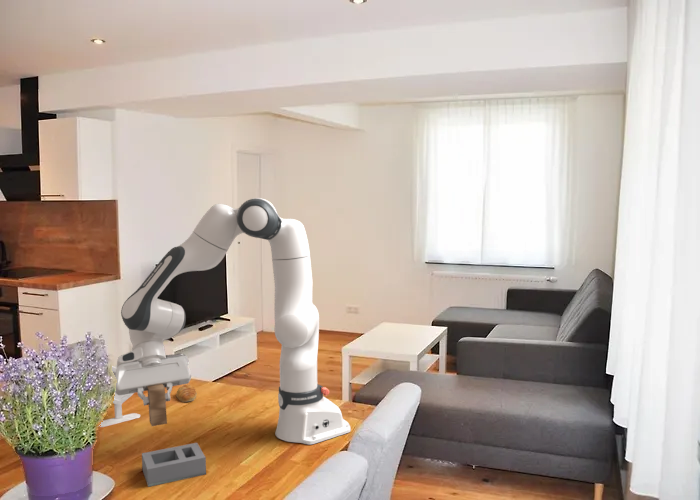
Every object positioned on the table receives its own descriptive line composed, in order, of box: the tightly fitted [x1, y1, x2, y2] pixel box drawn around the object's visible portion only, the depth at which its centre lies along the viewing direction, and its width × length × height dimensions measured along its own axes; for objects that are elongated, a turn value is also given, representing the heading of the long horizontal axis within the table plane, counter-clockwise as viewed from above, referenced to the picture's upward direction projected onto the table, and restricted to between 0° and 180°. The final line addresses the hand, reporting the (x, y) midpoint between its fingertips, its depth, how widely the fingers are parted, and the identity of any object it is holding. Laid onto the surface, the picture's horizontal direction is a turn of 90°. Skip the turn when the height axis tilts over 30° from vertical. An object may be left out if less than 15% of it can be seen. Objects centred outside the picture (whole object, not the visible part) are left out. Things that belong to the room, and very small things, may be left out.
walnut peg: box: [147, 384, 168, 427], centre depth 163 cm, size 4×4×10 cm
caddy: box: [141, 442, 207, 488], centre depth 154 cm, size 14×10×4 cm
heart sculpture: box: [98, 364, 141, 428], centre depth 188 cm, size 16×5×18 cm, turn 131°
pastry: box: [175, 384, 198, 403], centre depth 208 cm, size 9×7×4 cm
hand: (157, 402), depth 163 cm, fingers closed on walnut peg, 4 cm apart
